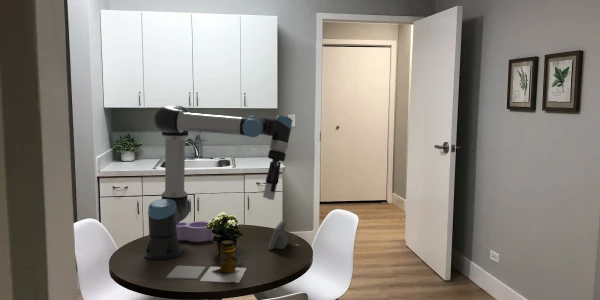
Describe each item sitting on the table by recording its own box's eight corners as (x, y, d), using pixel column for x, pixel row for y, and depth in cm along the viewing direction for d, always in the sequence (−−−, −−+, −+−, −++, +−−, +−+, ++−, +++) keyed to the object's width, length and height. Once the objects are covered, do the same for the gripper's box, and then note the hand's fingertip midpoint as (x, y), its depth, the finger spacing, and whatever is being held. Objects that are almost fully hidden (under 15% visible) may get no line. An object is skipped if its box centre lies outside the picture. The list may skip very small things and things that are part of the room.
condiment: (239, 271, 187) (239, 242, 186) (222, 277, 181) (221, 246, 180) (229, 266, 192) (228, 238, 191) (211, 271, 186) (211, 242, 185)
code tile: (199, 282, 177) (199, 280, 177) (210, 267, 192) (210, 266, 192) (239, 283, 176) (239, 282, 176) (246, 269, 191) (246, 267, 191)
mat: (166, 278, 180) (166, 276, 180) (177, 266, 192) (177, 265, 192) (197, 279, 179) (197, 278, 179) (205, 267, 191) (205, 266, 191)
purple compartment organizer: (170, 241, 225) (169, 227, 224) (177, 234, 237) (177, 220, 237) (211, 242, 225) (211, 228, 224) (216, 234, 237) (216, 221, 236)
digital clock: (276, 239, 230) (276, 218, 228) (293, 242, 226) (293, 220, 225) (261, 249, 215) (261, 226, 213) (279, 252, 211) (279, 229, 210)
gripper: (291, 151, 196) (281, 202, 194) (281, 153, 220) (272, 198, 218) (273, 147, 194) (263, 198, 192) (265, 150, 218) (256, 195, 217)
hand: (268, 198), depth 205 cm, fingers open, 13 cm apart
